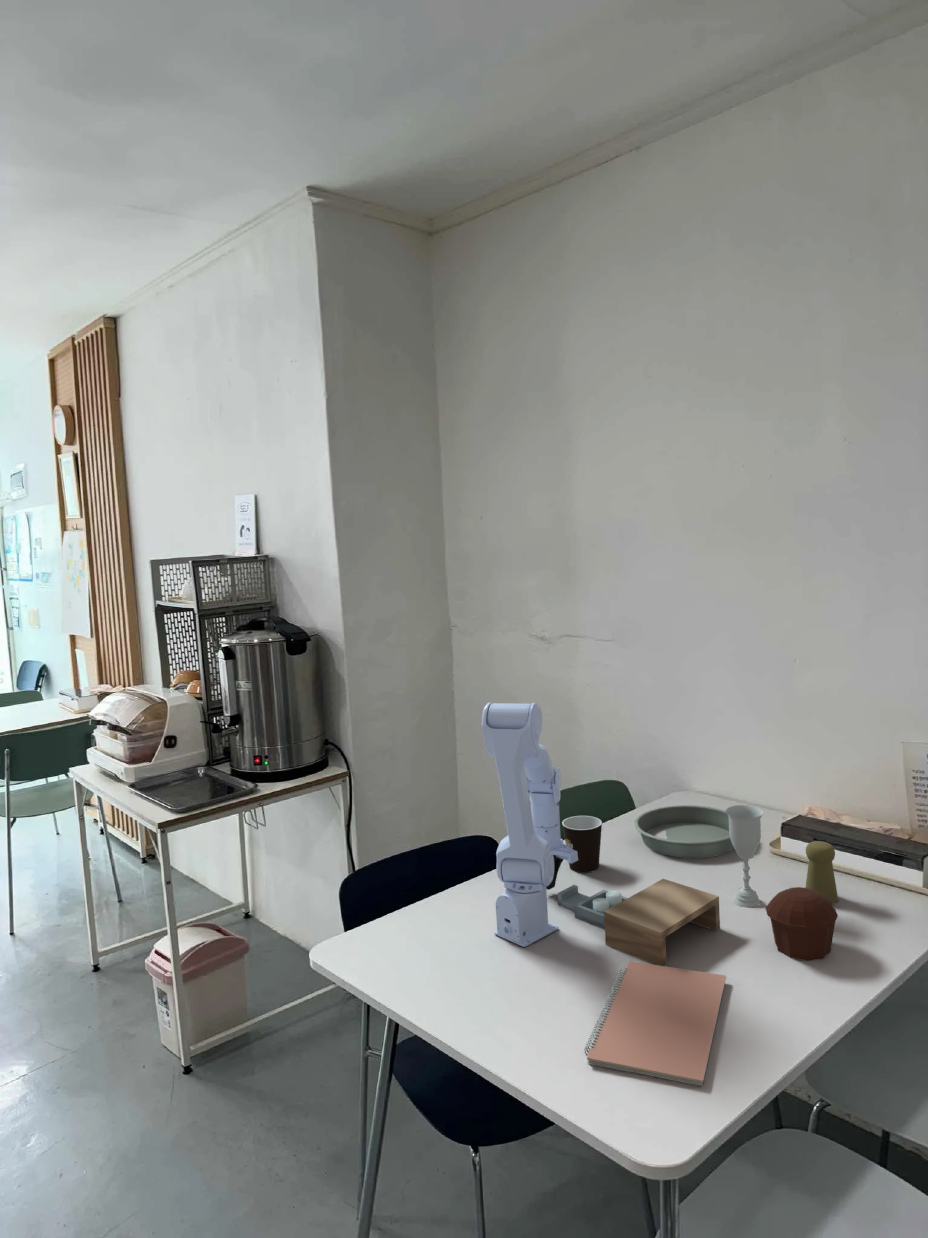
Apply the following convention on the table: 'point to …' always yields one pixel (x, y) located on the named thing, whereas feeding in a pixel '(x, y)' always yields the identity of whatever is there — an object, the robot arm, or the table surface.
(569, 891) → the tray
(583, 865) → the coffee mug
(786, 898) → the muffin
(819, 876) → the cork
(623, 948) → the shelf
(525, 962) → the table surface
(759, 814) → the chalice
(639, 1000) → the notebook
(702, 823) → the cake pan
